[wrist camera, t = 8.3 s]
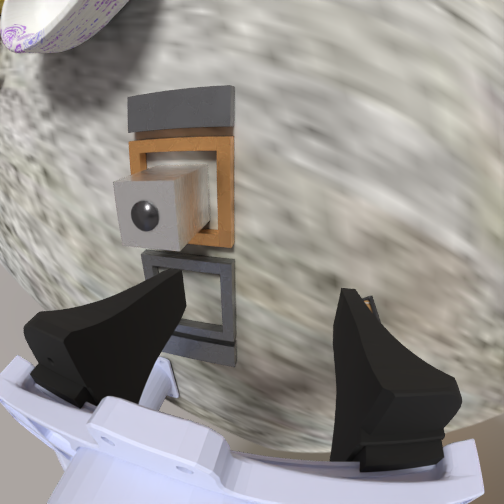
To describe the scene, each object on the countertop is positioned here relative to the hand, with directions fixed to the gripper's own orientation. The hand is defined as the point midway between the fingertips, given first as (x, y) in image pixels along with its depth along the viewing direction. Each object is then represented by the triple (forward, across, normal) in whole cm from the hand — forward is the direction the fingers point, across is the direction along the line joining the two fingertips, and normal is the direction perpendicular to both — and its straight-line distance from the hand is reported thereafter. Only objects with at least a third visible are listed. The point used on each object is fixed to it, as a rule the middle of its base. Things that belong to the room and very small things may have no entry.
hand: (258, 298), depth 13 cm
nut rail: (+10, +8, +3) cm, 13 cm away
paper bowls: (+11, +17, -23) cm, 31 cm away
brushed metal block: (+10, +8, -2) cm, 13 cm away
